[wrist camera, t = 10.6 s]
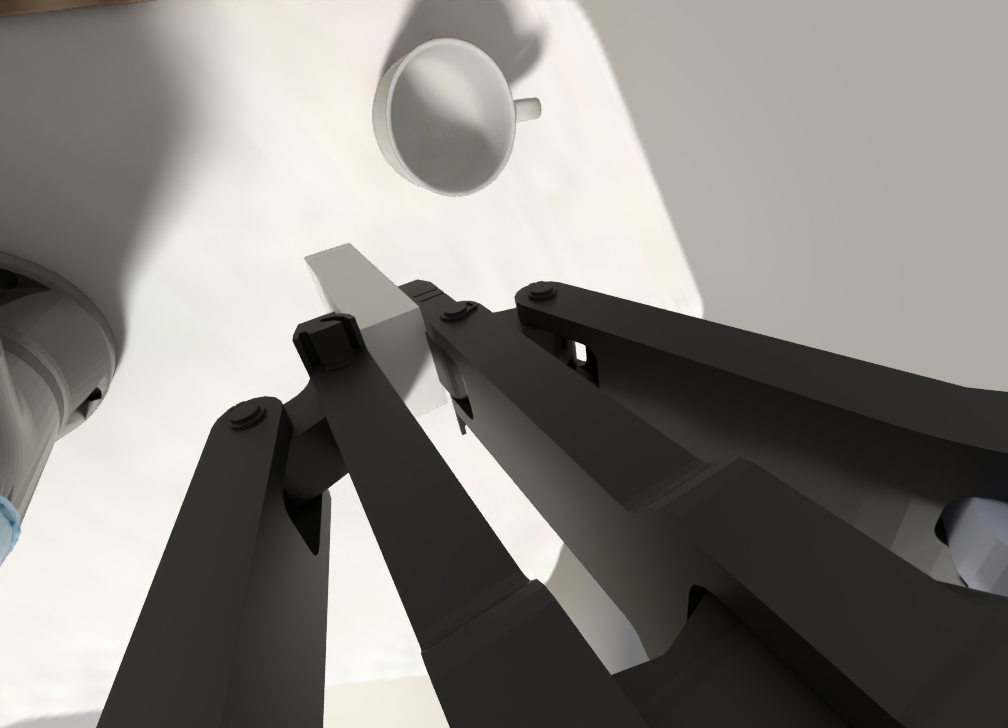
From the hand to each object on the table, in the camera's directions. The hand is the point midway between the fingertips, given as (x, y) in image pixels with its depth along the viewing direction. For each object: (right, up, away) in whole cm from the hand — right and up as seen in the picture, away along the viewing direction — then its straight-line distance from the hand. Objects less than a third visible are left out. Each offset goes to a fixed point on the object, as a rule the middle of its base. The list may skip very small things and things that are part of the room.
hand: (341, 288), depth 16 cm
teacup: (-1, +20, +28) cm, 34 cm away
